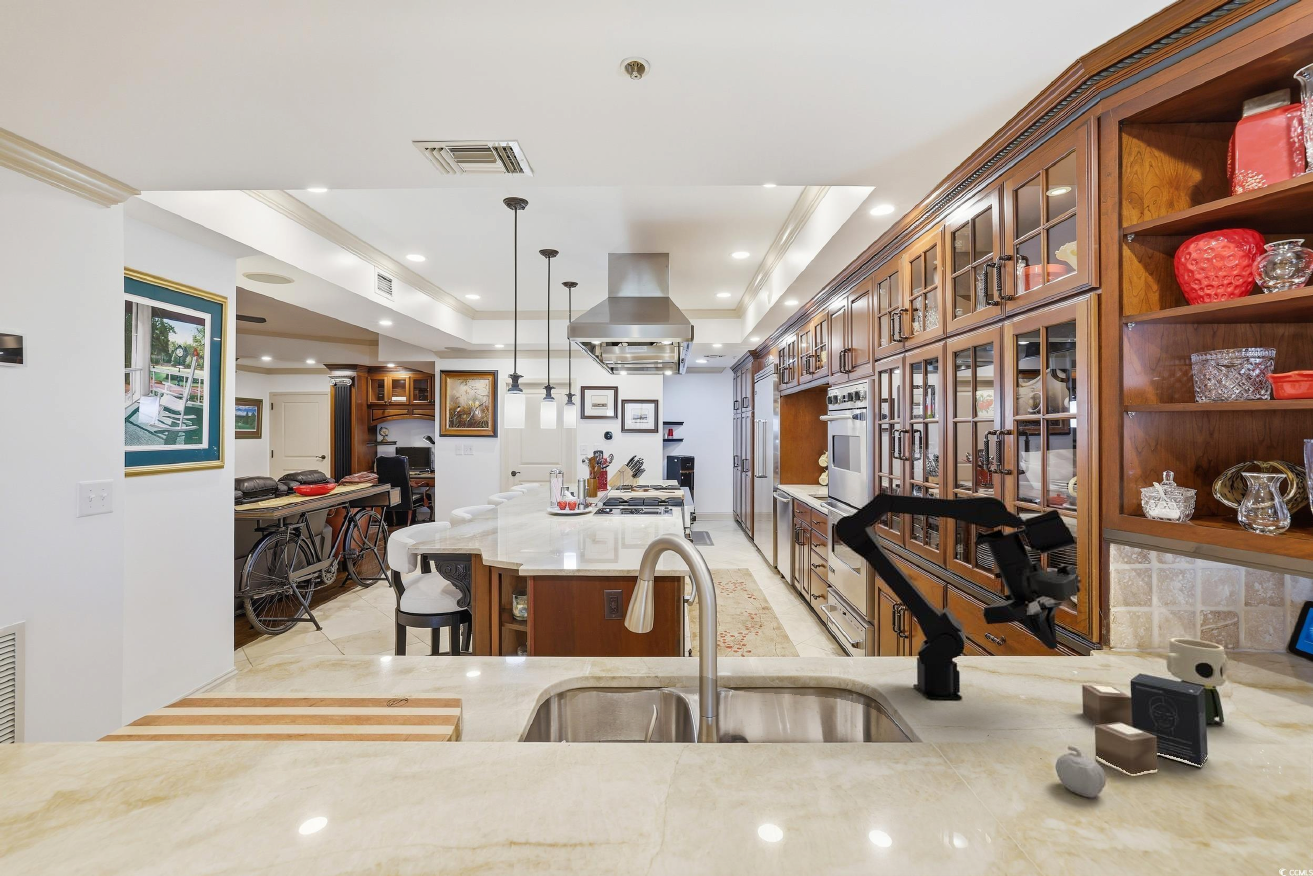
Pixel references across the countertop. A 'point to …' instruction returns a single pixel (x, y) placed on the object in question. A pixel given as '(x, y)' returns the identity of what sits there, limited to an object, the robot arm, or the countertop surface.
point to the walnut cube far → (1106, 705)
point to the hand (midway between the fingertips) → (1053, 648)
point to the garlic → (1080, 773)
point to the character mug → (1200, 670)
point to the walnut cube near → (1126, 747)
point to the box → (1171, 716)
